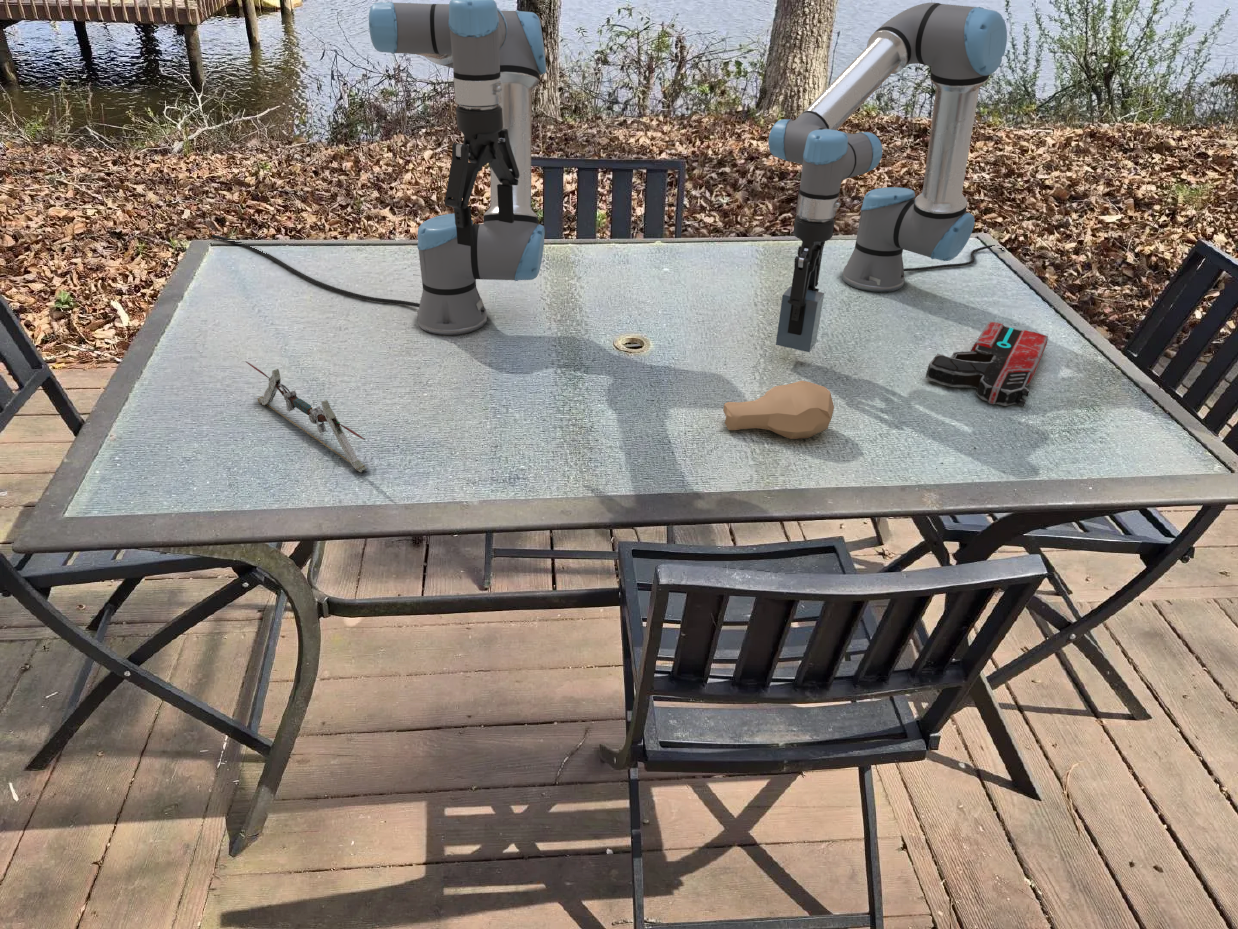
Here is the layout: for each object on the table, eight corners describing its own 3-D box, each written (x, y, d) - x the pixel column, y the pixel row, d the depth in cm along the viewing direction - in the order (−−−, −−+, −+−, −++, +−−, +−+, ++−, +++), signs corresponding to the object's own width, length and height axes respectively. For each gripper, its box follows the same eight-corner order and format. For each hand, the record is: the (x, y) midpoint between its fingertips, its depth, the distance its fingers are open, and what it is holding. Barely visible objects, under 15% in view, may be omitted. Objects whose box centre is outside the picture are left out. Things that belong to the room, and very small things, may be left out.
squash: (838, 445, 158) (841, 407, 151) (727, 454, 159) (725, 416, 153) (828, 406, 165) (831, 369, 159) (722, 415, 167) (721, 378, 161)
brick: (775, 344, 182) (782, 294, 176) (782, 335, 186) (789, 285, 180) (809, 352, 179) (817, 301, 173) (816, 342, 183) (824, 292, 177)
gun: (926, 366, 174) (1027, 394, 166) (962, 310, 196) (1054, 333, 188) (920, 386, 177) (1020, 414, 169) (957, 329, 199) (1047, 352, 191)
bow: (376, 475, 146) (368, 423, 140) (367, 479, 145) (359, 428, 139) (259, 394, 167) (248, 347, 162) (250, 398, 166) (238, 350, 160)
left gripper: (455, 123, 132) (465, 258, 144) (536, 94, 151) (539, 215, 163) (414, 117, 134) (427, 250, 146) (498, 89, 153) (504, 209, 165)
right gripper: (822, 233, 160) (804, 349, 172) (846, 206, 173) (827, 315, 186) (782, 226, 162) (767, 341, 175) (809, 200, 176) (793, 308, 189)
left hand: (486, 232), depth 154 cm, fingers open, 13 cm apart
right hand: (798, 327), depth 181 cm, fingers closed on brick, 5 cm apart
